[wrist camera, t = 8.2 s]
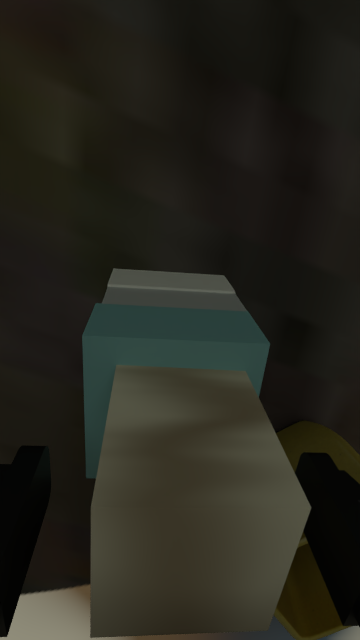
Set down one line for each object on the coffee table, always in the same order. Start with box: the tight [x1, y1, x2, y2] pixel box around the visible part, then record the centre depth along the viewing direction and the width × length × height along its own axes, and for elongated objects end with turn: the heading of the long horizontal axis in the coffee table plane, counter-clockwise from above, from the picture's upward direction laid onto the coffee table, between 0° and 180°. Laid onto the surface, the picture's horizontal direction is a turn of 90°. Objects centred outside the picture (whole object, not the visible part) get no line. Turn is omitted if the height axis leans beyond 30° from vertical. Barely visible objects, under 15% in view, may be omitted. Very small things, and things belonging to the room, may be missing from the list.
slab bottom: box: [108, 269, 235, 294], centre depth 20 cm, size 6×6×3 cm
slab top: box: [82, 303, 270, 478], centre depth 14 cm, size 6×6×3 cm
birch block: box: [90, 365, 311, 638], centre depth 10 cm, size 5×5×6 cm
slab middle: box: [102, 287, 247, 311], centre depth 17 cm, size 6×6×3 cm
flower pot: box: [274, 421, 360, 640], centre depth 22 cm, size 9×9×9 cm
